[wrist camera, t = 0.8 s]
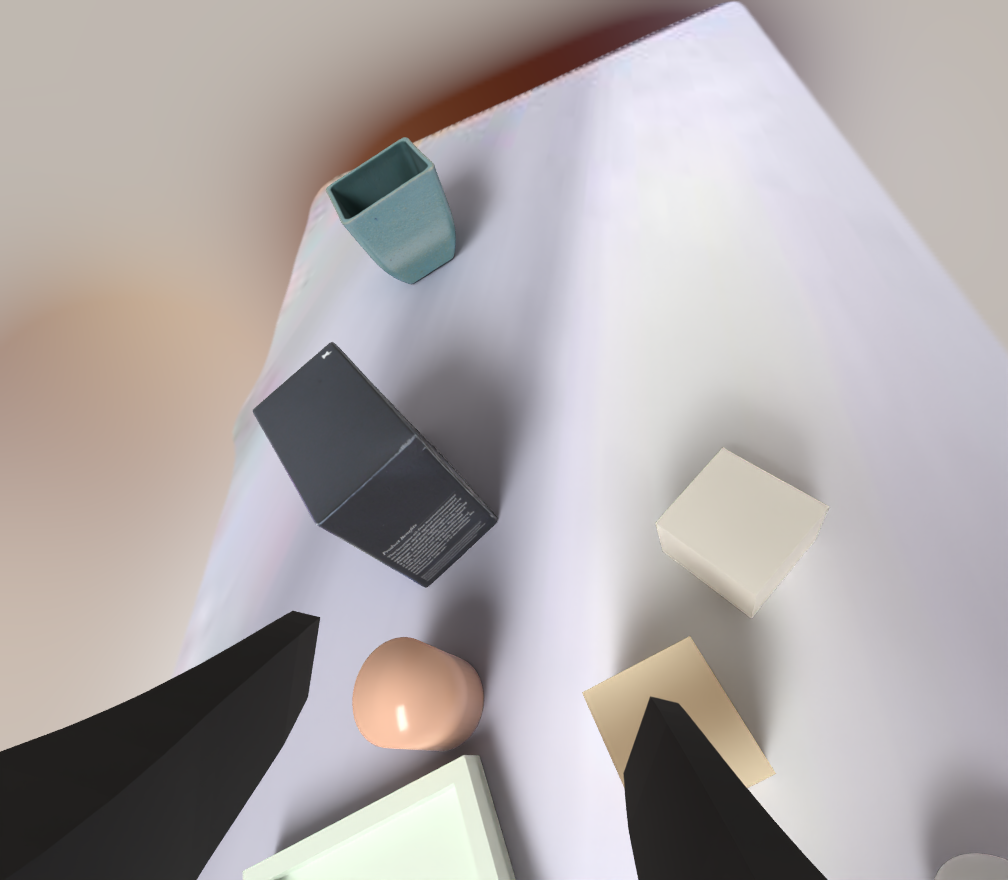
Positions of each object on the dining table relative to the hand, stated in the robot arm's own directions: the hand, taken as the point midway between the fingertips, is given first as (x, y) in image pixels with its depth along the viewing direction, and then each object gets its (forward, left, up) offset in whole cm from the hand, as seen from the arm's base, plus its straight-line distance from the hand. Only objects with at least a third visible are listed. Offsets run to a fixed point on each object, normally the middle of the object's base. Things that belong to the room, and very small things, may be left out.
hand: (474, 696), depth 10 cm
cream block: (+5, -10, -16) cm, 19 cm away
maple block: (-1, -3, -15) cm, 16 cm away
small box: (+17, +5, -16) cm, 23 cm away
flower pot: (+43, -3, -16) cm, 45 cm away
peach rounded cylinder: (+5, +7, -15) cm, 18 cm away
